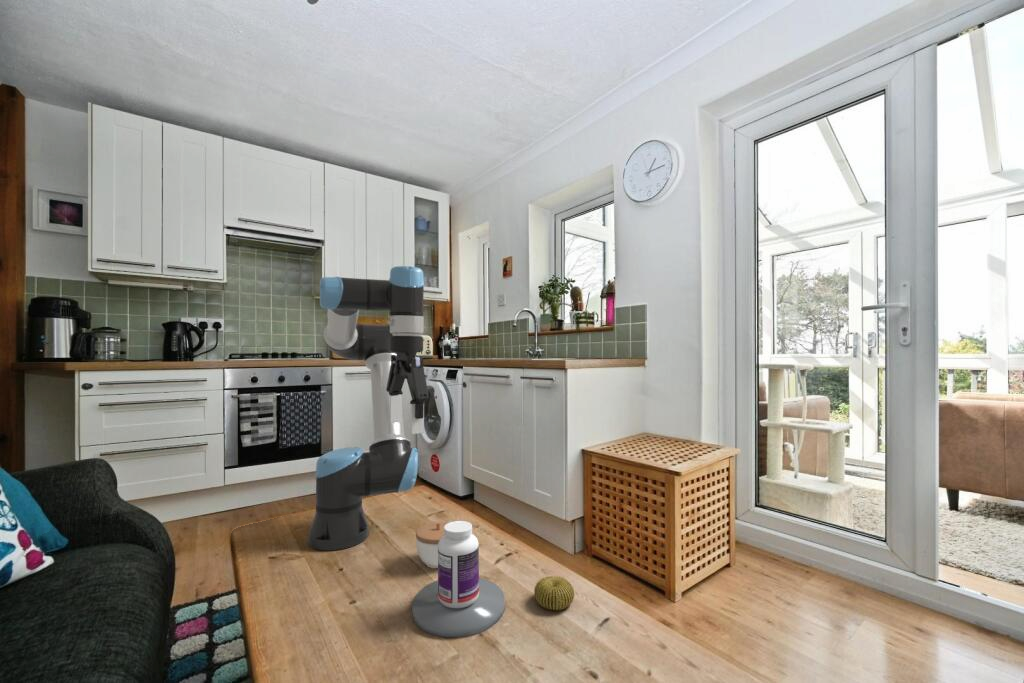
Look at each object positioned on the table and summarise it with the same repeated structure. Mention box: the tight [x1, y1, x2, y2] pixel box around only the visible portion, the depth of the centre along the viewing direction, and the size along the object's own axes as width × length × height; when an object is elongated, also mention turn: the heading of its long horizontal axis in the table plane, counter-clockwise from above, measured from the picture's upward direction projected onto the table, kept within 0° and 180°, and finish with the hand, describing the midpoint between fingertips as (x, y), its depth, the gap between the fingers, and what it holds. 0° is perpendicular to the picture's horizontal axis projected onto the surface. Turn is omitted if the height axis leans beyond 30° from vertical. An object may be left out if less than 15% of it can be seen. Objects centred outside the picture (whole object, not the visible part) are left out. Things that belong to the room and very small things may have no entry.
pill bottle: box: [437, 520, 480, 608], centre depth 86 cm, size 8×8×14 cm
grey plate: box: [411, 576, 506, 638], centre depth 86 cm, size 18×18×2 cm
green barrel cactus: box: [533, 575, 575, 611], centre depth 88 cm, size 8×4×8 cm
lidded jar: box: [415, 520, 451, 569], centre depth 104 cm, size 11×11×9 cm
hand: (405, 427), depth 100 cm, fingers open, 13 cm apart
